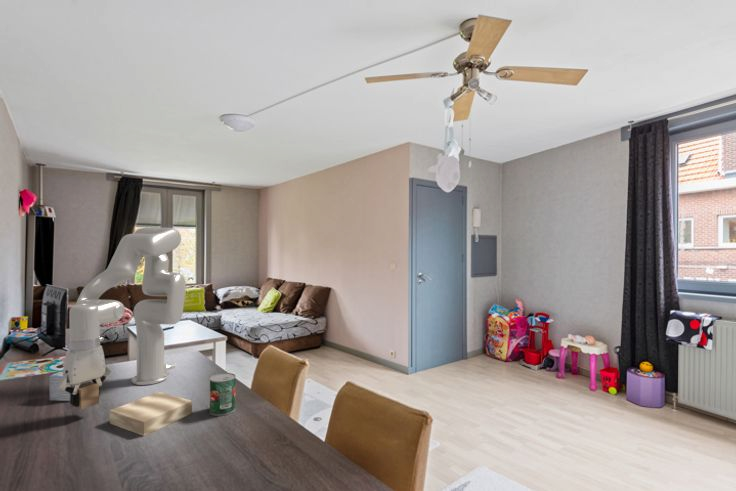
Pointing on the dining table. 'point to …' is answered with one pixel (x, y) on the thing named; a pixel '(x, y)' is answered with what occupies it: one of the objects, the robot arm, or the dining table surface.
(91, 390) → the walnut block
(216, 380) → the canned tomato
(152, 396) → the birch base
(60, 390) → the medicine box
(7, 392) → the dining table surface
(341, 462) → the dining table surface
